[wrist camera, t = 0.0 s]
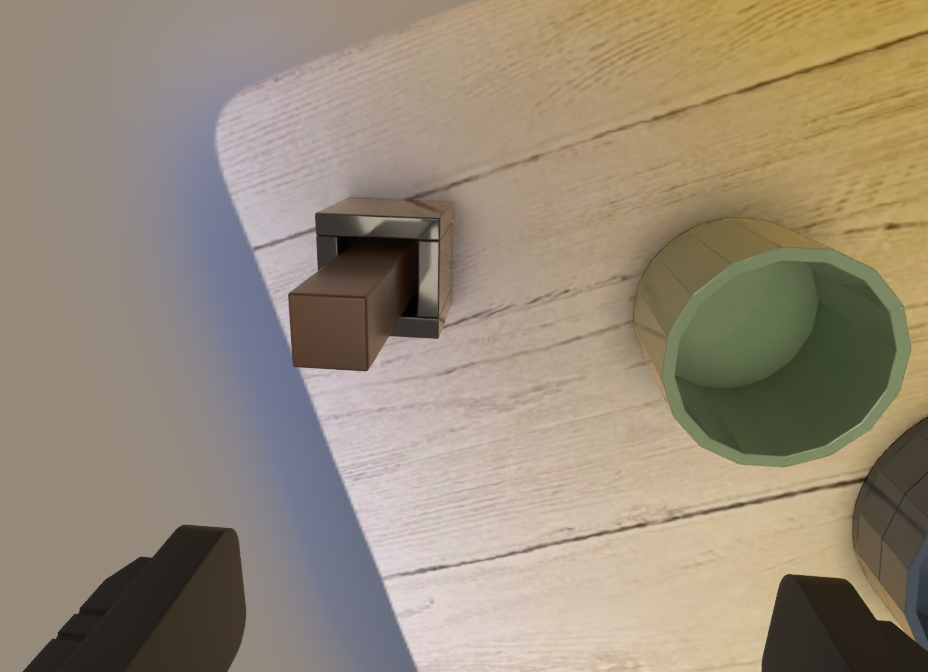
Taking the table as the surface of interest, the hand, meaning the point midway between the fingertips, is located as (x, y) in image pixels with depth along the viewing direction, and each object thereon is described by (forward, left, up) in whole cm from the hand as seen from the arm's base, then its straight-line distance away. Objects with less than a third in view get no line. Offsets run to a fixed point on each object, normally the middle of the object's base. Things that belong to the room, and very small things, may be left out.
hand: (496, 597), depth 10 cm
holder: (0, -6, -22) cm, 23 cm away
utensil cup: (+2, +10, -22) cm, 24 cm away
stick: (0, -6, -22) cm, 23 cm away
